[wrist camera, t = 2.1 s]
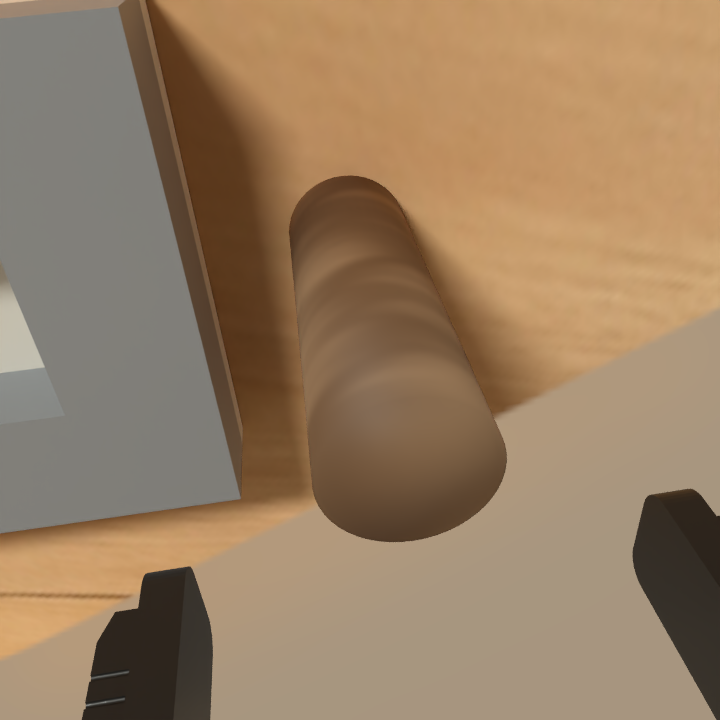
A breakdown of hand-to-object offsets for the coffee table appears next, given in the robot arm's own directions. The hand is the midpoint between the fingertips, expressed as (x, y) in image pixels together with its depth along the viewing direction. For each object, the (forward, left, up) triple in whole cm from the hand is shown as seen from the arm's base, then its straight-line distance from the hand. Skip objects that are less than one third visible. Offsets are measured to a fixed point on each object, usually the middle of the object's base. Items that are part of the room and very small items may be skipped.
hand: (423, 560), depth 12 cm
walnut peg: (0, 0, -14) cm, 14 cm away
